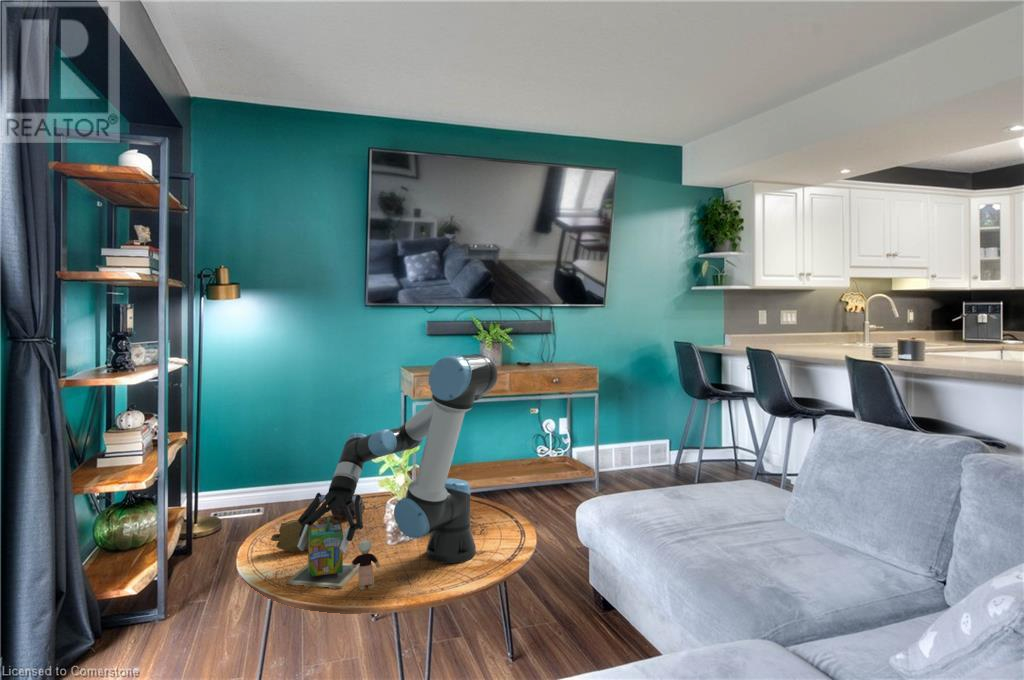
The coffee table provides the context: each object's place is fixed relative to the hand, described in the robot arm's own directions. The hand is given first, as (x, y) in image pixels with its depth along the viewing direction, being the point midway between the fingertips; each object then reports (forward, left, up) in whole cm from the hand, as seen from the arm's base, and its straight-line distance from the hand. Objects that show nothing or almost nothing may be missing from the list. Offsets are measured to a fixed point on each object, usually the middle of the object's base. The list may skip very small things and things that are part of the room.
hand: (321, 550), depth 160 cm
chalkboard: (0, -3, -8) cm, 9 cm away
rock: (+16, -50, -9) cm, 53 cm away
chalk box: (0, -3, -7) cm, 7 cm away
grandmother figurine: (-14, +2, -9) cm, 16 cm away
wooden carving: (+17, -19, -9) cm, 27 cm away
